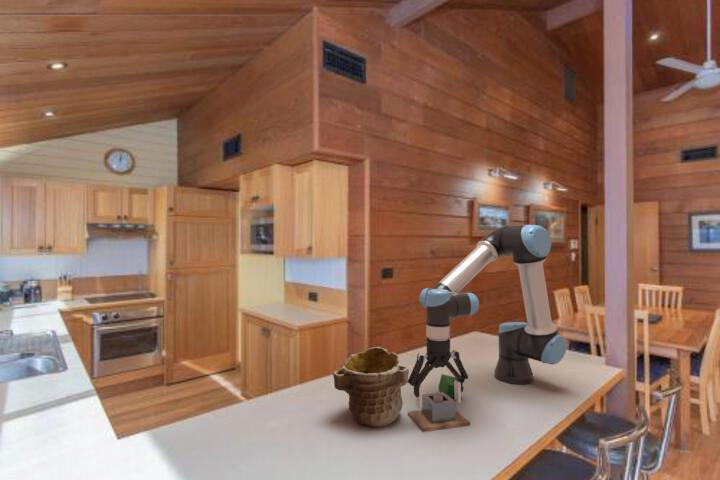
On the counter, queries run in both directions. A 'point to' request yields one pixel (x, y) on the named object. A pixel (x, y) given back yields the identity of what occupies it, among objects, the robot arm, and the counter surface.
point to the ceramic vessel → (373, 385)
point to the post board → (428, 426)
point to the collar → (438, 408)
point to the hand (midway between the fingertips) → (438, 403)
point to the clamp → (447, 385)
